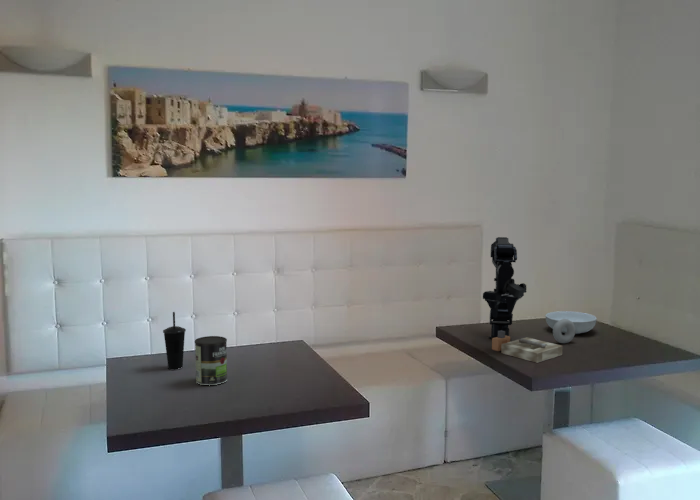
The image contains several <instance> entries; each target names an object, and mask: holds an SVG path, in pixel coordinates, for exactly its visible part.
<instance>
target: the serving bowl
mask: <svg viewBox="0 0 700 500" xmlns="http://www.w3.org/2000/svg"><path fill="white" fill-rule="evenodd" d="M544 316H545V322H546V324H547V326H548V327H550V328H551V329H552V330H553V328H554V325H555V324H556V323H557V322H558V321H559V320H561V319H568V320H570V321H572V322H573V324H574V326H575V335H579V334H584V333H587V332H589V331H591V330H593V329H594V328H595V326H596V324H597V320H598V319H597V317H596V315H594V314H591V313H585V312H581V311H573V310H572V311H570V310H568V311H566V310H559V311H551V312H548V313H546V314H545V315H544ZM566 332H567V328H566V327H564V328H563V329H562V332H561V333H562V334H566Z"/></svg>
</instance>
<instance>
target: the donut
mask: <svg viewBox="0 0 700 500" xmlns="http://www.w3.org/2000/svg"><path fill="white" fill-rule="evenodd" d="M564 327H566V328H567V332H566V333H564V334H563V333H562V329H563V328H564ZM552 335H553V337H554V340H556V342H558V343H560V344H569V342H571V341H572V340H573V339H574V338H575V335H576V334H575V326H574V324H573V322H572V321H570V320H568V319H561V320H559V321H558V322H557V323H556V324H555V325H554V328H553V329H552Z"/></svg>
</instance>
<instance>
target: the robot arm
mask: <svg viewBox="0 0 700 500" xmlns="http://www.w3.org/2000/svg"><path fill="white" fill-rule="evenodd" d="M489 253H490V258H491V264H492V265H493V266H494V268H495V278H493V281H494V282H495V288H493V290H487V291H484V292H482V299H483V300H484V301H485V302H486V303H487V305H488V307H489V308H490V310H489V325H491V328H490V329H491V331H490V332H491V334H490V336H488V339H492V338H495V337H498V331H500V330H502V331H505V335H506V336H510V327H509V326H512V325H513V318H514V317H513V316H514V315H513V311H514V309H515V306H516V304H517V302H518V301H519V300H521V299H522V298H523V297H524V296H525V293H527V284H525V283H520V284H519V283H518V284H517V283H515V282H516V281H515V278H513V276H514V275H515V270H514V268H513V263H516V262H517V260H518V249H517V247H516V246H514V243H510V242H509V237H503V236H501V237H500V236H498V237H496V238H495V241H494V242H493V243H491V244H490V252H489Z"/></svg>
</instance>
